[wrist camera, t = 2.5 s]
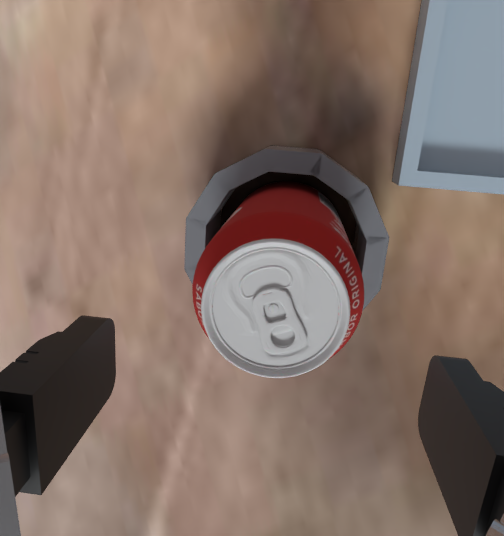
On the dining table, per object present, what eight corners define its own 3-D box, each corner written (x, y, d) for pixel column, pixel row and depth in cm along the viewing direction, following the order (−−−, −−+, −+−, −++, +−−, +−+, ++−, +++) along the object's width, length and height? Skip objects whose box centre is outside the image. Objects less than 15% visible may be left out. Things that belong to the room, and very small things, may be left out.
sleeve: (385, 154, 25) (402, 160, 20) (359, 319, 28) (369, 354, 23) (207, 140, 25) (188, 142, 21) (200, 302, 28) (182, 333, 24)
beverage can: (218, 198, 26) (154, 252, 15) (323, 164, 25) (341, 193, 14) (252, 296, 28) (218, 412, 17) (353, 268, 27) (391, 372, 15)
